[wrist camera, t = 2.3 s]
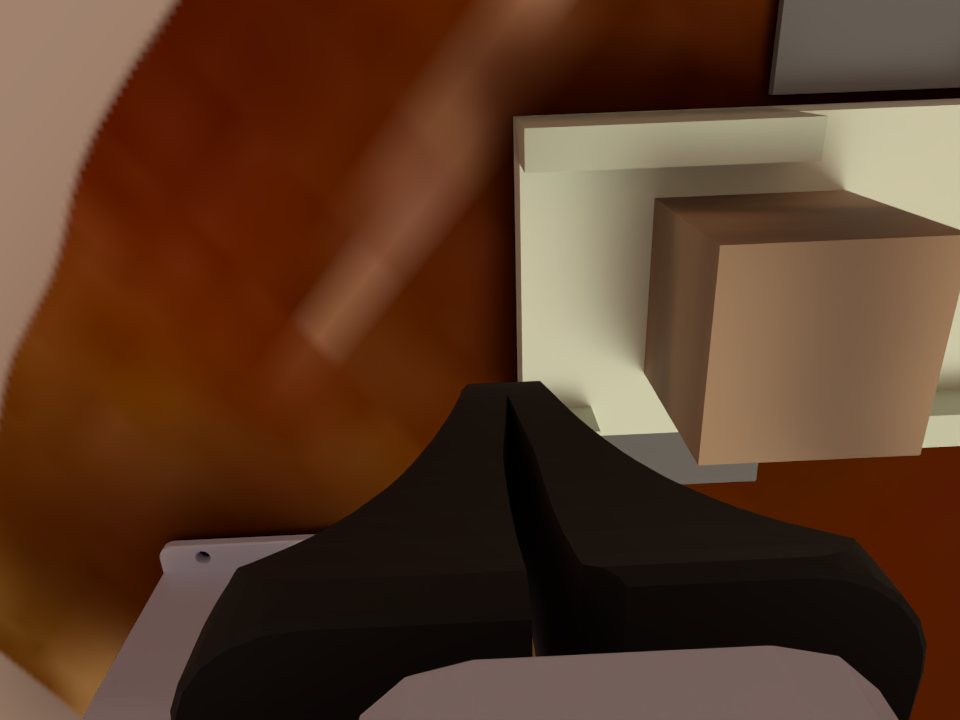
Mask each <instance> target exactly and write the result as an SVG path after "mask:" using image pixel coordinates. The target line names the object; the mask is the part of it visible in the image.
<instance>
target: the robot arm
mask: <svg viewBox="0 0 960 720" xmlns="http://www.w3.org/2000/svg"><path fill="white" fill-rule="evenodd" d="M201 551H203V552H206V553H208V554H209V555H210V556H204V555H202V554H201V553H200V552H201ZM160 561H161V565H162V569H163V573H164V574H163V575H162V577H161V579H160V581H159V582H158V584H157V586H156V588H155V589H154V591H153V593H152V595H151V596H150V598H149V600H148V602H147V604H146V605H145V607H144V609H143V611H142V612H141V614H140V616H139V618H138V619H137V621H136V623H135V625H134V626H133V628H132V630H131V632H130V634H129V635H128V637H127V639H126V641H125V642H124V644H123V646H122V648H121V649H120V651H119V653H118V655H117V657H116V658H115V660H114V662H113V664H112V665H111V667H110V669H109V671H108V672H107V674H106V676H105V678H104V679H103V681H102V683H101V685H100V687H99V688H98V690H97V692H96V694H95V695H94V697H93V699H92V701H91V703H90V705H89V707H88V709H87V711H86V713H85V715H84V717H83V720H909V719H910V716H911V712H912V709H913V705H914V702H915V699H916V695H917V692H918V688H919V685H920V681H921V678H922V674H923V671H924V662H925V653H926V645H927V644H926V641H925V637H924V633H923V629H922V626H921V622H920V619H919V617H918V616H917V615H916V613H915V612H914V611H913V609H912V608H911V607H910V605H909V604H908V603H907V601H906V600H905V599H904V597H903V596H902V595H901V593H900V592H899V591H898V590H897V588H896V587H895V586H894V584H893V583H892V582H891V581H890V579H889V578H888V577H887V575H886V574H885V573H884V572H883V570H882V569H881V568H880V567H879V566H878V564H877V563H876V562H875V561H874V560H873V559H872V558H871V556H870V555H869V554H868V553H867V552H866V551H865V550H864V549H863V547H862V546H861V545H860V544H859V543H858V542H857V541H856V540H855V539H854V538H850V537H846V536H842V535H837V534H833V533H829V532H824V531H820V530H816V529H812V528H807V527H803V526H799V525H794V524H790V523H786V522H782V521H779V520H775V519H772V518H769V517H765V516H762V515H759V514H756V513H753V512H750V511H747V510H744V509H740V508H737V507H735V506H732V505H729V504H727V503H724V502H721V501H718V500H716V499H713V498H711V497H708V496H706V495H704V494H702V493H699V492H697V491H695V490H692V489H690V488H688V487H686V486H683V485H681V484H679V483H677V482H675V481H673V480H671V479H669V478H667V477H665V476H663V475H661V474H659V473H657V472H656V471H654V470H652V469H650V468H649V467H647V466H645V465H643V464H642V463H640V462H638V461H636V460H635V459H633V458H632V457H630V456H629V455H627V454H625V453H624V452H622V451H621V450H620V449H618V448H617V447H615V446H614V445H613V444H611V443H610V442H608V441H607V440H606V439H604V438H603V437H602V436H600V435H599V434H598V433H596V432H595V431H594V430H593V429H591V428H590V427H589V426H588V425H587V424H585V423H584V422H583V421H582V420H581V419H579V418H578V417H577V416H576V415H575V414H574V413H573V412H572V411H571V410H570V409H569V408H568V407H566V406H565V405H564V404H563V403H562V402H561V401H560V400H559V399H558V398H557V397H556V396H555V395H554V394H553V393H552V392H551V391H550V390H549V389H548V388H547V387H546V386H545V385H544V384H543V383H542V382H541V381H525V382H503V383H480V384H468V385H467V386H466V387H465V388H464V389H463V390H462V391H461V394H460V397H459V399H458V401H457V403H456V405H455V406H454V408H453V410H452V412H451V413H450V415H449V417H448V418H447V420H446V421H445V422H444V424H443V425H442V427H441V428H440V430H439V431H438V433H437V434H436V436H435V437H434V438H433V440H432V441H431V442H430V443H429V445H428V446H427V447H426V448H425V449H424V451H423V452H422V453H421V454H420V455H419V457H418V458H417V459H416V460H415V461H414V462H413V464H412V465H411V466H410V467H409V468H408V469H407V470H406V471H405V472H404V473H403V474H402V475H401V476H400V477H399V478H398V479H397V480H396V481H395V482H393V483H392V484H391V485H390V486H389V487H388V488H386V489H385V490H384V491H383V492H381V493H380V494H378V495H377V496H376V497H374V498H373V499H371V500H370V501H369V502H367V503H366V504H364V505H363V506H362V507H360V508H359V509H358V510H356V511H355V512H353V513H352V514H350V515H349V516H347V517H345V518H344V519H342V520H340V521H339V522H337V523H335V524H334V525H332V526H330V527H328V528H326V529H325V530H323V531H321V532H319V533H317V534H306V535H285V536H264V537H243V538H223V539H202V540H181V541H171V542H168V543H167V544H166V545H165V546H164V548H163V549H162V551H161V553H160ZM532 637H533V642H534V648H535V654H536V657H532Z"/></svg>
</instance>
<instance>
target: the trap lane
mask: <svg viewBox="0 0 960 720" xmlns="http://www.w3.org/2000/svg"><path fill="white" fill-rule="evenodd" d="M513 135H514V195H515V255H516V315H517V375H518V382H525V381H541V382H542V383H543V384H544V385H545V386H546V387H547V388H548V389H549V390H550V391H551V392H552V393H553V394H554V395H555V396H556V397H557V398H558V399H559V400H560V401H561V402H562V403H563V404H564V405H565V406H566V407H568V408H569V409H570V410H571V411H572V412H573V413H574V414H575V415H576V416H577V417H578V418H579V419H581V420H582V421H583V422H584V423H585V424H587V425H588V426H589V427H590V428H591V429H593V430H594V431H595V432H596V433H598V434H599V435H600V436H607V435H628V434H650V433H671V432H678V430H677V429H676V427H675V425H674V423H673V422H672V420H671V418H670V417H669V415H668V413H667V412H666V410H665V408H664V406H663V405H662V403H661V401H660V400H659V398H658V396H657V395H656V393H655V391H654V389H653V388H652V386H651V384H650V383H649V381H648V379H647V378H646V376H645V374H644V363H645V347H646V330H647V314H648V297H649V281H650V265H651V248H652V232H653V215H654V199H655V198H667V197H691V196H714V195H738V194H762V193H786V192H809V191H833V190H847V191H850V192H853V193H856V194H858V195H861V196H864V197H867V198H870V199H873V200H876V201H879V202H881V203H884V204H887V205H890V206H893V207H896V208H899V209H902V210H904V211H907V212H910V213H913V214H916V215H919V216H922V217H925V218H928V219H930V220H933V221H936V222H939V223H942V224H945V225H948V226H951V227H953V228H956V229H959V230H960V98H952V99H928V100H903V101H878V102H854V103H829V104H804V105H780V106H755V107H730V108H706V109H681V110H656V111H632V112H607V113H582V114H558V115H533V116H513ZM946 446H960V293H959V297H958V301H957V306H956V310H955V314H954V318H953V322H952V326H951V330H950V334H949V338H948V343H947V347H946V351H945V355H944V359H943V363H942V367H941V371H940V375H939V380H938V384H937V388H936V392H935V396H934V400H933V404H932V408H931V413H930V417H929V421H928V425H927V429H926V433H925V437H924V441H923V445H922V448H924V447H946Z"/></svg>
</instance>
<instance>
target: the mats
mask: <svg viewBox="0 0 960 720" xmlns="http://www.w3.org/2000/svg"><path fill="white" fill-rule="evenodd" d="M958 87H960V0H779V8H778V16H777V25H776V33H775V42H774V50H773V59H772V67H771V76H770V84H769V93H768V94H769V95H784V94H809V93H834V92H859V91H883V90H908V89H933V88H958ZM602 437H603V438H604V439H606V440H607V441H608V442H610V443H611V444H613V445H614V446H615V447H617V448H618V449H620V450H621V451H622V452H624V453H625V454H627V455H629V456H630V457H632V458H633V459H635V460H636V461H638V462H640V463H642V464H643V465H645V466H647V467H649V468H650V469H652V470H654V471H656V472H657V473H659V474H661V475H663V476H665V477H667V478H669V479H671V480H673V481H675V482H677V483H679V484H698V483H719V482H740V481H756V476H757V469H758V463H739V464H718V465H698V464H697V463H696V461H695V459H694V457H693V456H692V454H691V452H690V451H689V449H688V447H687V446H686V444H685V442H684V440H683V439H682V437H681V435H680V434H679V432H671V433H650V434H628V435H607V436H602Z"/></svg>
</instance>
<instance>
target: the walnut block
mask: <svg viewBox="0 0 960 720" xmlns="http://www.w3.org/2000/svg"><path fill="white" fill-rule="evenodd" d="M959 293H960V230H959V229H956V228H953V227H951V226H948V225H945V224H942V223H939V222H936V221H933V220H930V219H928V218H925V217H922V216H919V215H916V214H913V213H910V212H907V211H904V210H902V209H899V208H896V207H893V206H890V205H887V204H884V203H881V202H879V201H876V200H873V199H870V198H867V197H864V196H861V195H858V194H856V193H853V192H850V191H847V190H833V191H809V192H786V193H762V194H738V195H714V196H691V197H667V198H655V199H654V215H653V232H652V248H651V265H650V281H649V297H648V314H647V330H646V347H645V363H644V374H645V376H646V378H647V379H648V381H649V383H650V384H651V386H652V388H653V389H654V391H655V393H656V395H657V396H658V398H659V400H660V401H661V403H662V405H663V406H664V408H665V410H666V412H667V413H668V415H669V417H670V418H671V420H672V422H673V423H674V425H675V427H676V429H677V430H678V432H679V434H680V435H681V437H682V439H683V440H684V442H685V444H686V446H687V447H688V449H689V451H690V452H691V454H692V456H693V457H694V459H695V461H696V463H697V464H698V465H718V464H739V463H760V462H782V461H803V460H824V459H845V458H866V457H887V456H909V455H920V454H921V450H922V445H923V441H924V437H925V433H926V429H927V425H928V421H929V417H930V413H931V408H932V404H933V400H934V396H935V392H936V388H937V384H938V380H939V375H940V371H941V367H942V363H943V359H944V355H945V351H946V347H947V343H948V338H949V334H950V330H951V326H952V322H953V318H954V314H955V310H956V306H957V301H958V297H959Z"/></svg>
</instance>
